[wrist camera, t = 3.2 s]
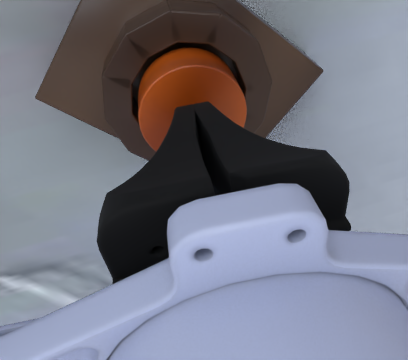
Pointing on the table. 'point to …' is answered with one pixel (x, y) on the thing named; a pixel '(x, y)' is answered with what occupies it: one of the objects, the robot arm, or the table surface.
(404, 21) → the table surface
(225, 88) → the lamp button
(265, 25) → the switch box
